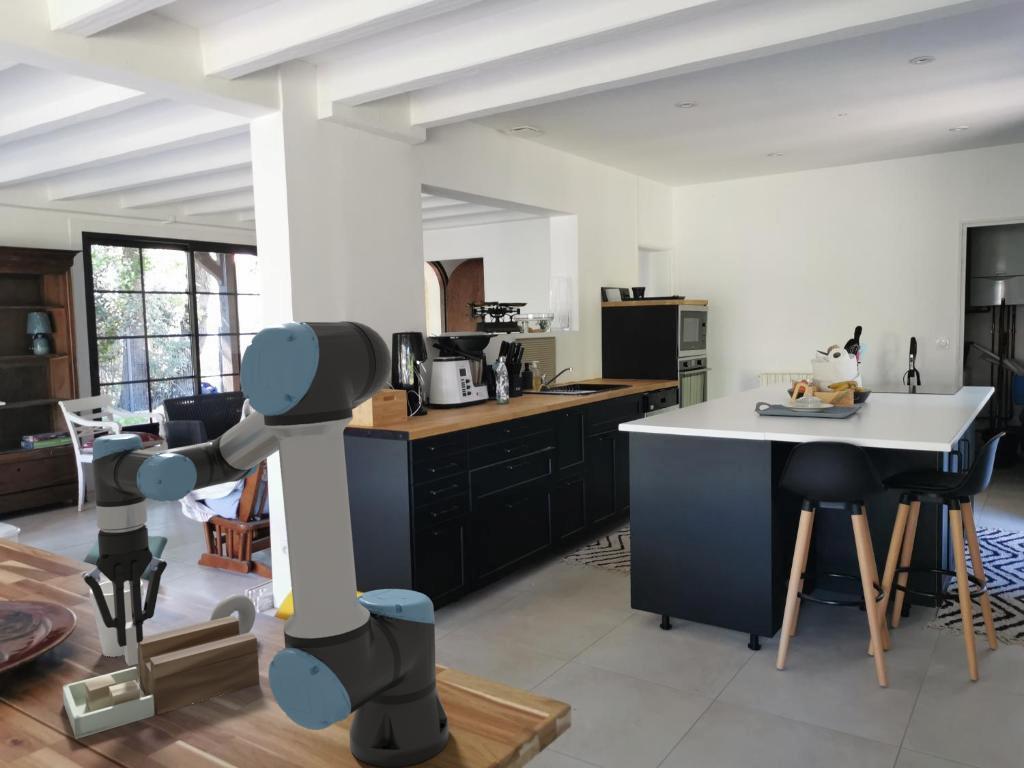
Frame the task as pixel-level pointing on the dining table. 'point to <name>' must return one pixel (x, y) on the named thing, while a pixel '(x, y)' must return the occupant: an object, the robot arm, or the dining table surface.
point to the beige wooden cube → (124, 692)
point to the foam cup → (109, 634)
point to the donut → (236, 604)
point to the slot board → (197, 663)
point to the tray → (106, 717)
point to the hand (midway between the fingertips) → (131, 661)
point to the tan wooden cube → (98, 693)
